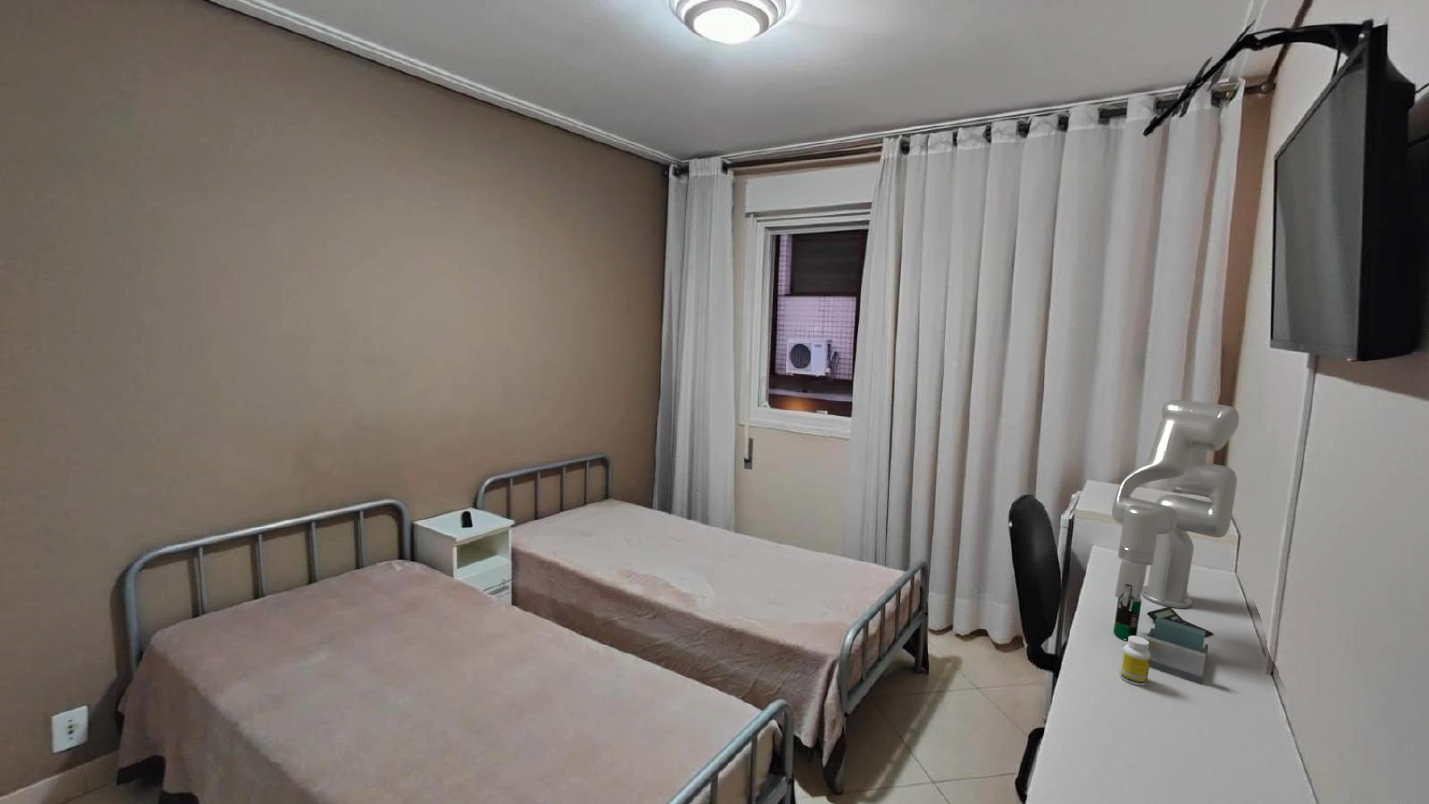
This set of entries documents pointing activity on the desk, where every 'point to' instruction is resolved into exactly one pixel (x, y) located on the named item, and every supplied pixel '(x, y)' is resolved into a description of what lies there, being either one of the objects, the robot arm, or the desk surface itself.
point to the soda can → (1131, 630)
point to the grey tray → (1176, 659)
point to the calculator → (1173, 618)
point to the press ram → (1179, 634)
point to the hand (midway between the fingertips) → (1126, 617)
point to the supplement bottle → (1135, 661)
